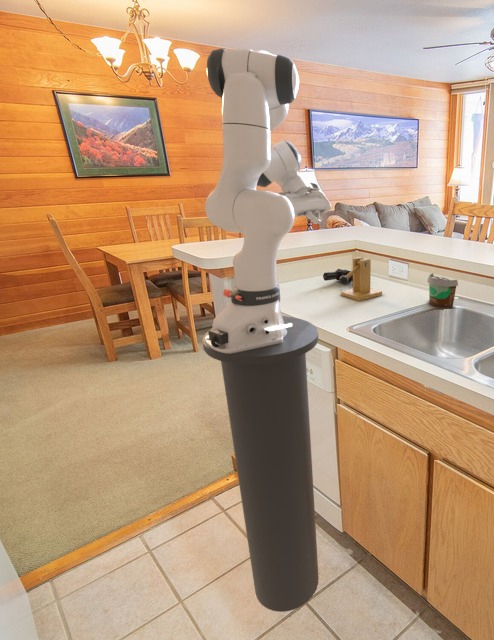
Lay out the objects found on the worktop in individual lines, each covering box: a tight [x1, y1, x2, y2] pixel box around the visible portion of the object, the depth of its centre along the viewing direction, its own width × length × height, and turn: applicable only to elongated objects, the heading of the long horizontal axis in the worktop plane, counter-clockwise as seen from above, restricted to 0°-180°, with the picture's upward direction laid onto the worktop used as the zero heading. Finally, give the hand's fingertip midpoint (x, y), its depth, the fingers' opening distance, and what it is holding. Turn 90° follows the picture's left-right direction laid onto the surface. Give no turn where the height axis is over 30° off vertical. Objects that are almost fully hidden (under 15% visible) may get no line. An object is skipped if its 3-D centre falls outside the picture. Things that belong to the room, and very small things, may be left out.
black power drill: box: [322, 268, 353, 284], centre depth 180 cm, size 5×20×15 cm
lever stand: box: [340, 256, 383, 302], centre depth 163 cm, size 12×10×14 cm
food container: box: [426, 272, 459, 309], centre depth 155 cm, size 12×6×10 cm, turn 42°
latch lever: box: [338, 258, 365, 286], centre depth 159 cm, size 13×3×3 cm, turn 134°
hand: (319, 222), depth 155 cm, fingers closed
